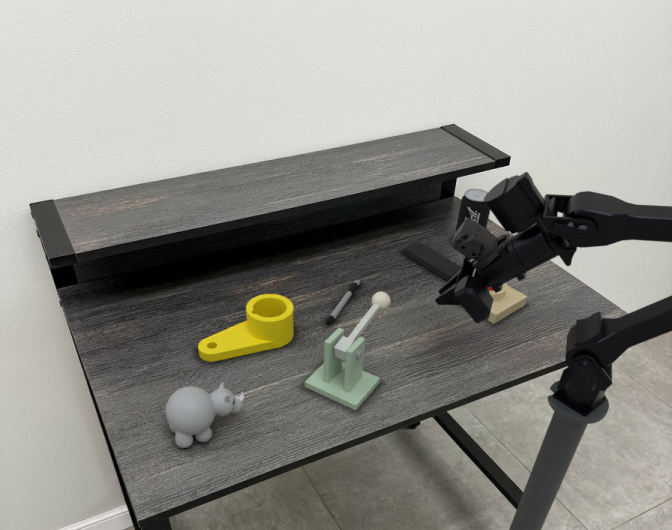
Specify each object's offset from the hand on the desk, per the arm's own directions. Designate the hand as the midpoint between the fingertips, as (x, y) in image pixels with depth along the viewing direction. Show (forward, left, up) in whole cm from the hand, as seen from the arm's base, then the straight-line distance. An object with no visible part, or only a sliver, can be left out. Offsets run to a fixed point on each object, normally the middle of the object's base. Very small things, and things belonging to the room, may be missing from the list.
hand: (438, 297), depth 102 cm
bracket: (+5, +16, -14) cm, 22 cm away
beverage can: (+22, -38, -14) cm, 46 cm away
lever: (+7, +10, -6) cm, 13 cm away
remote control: (+21, -25, -14) cm, 36 cm away
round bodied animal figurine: (+10, +39, -14) cm, 42 cm away
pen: (+22, 0, -14) cm, 26 cm away
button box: (+5, -23, -14) cm, 27 cm away
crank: (+24, +22, -14) cm, 35 cm away
